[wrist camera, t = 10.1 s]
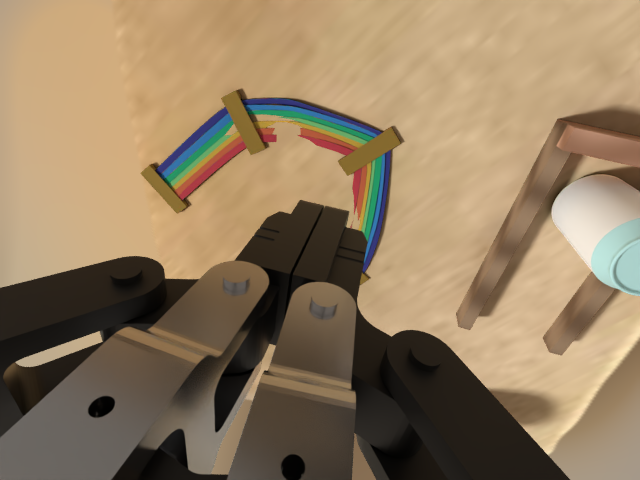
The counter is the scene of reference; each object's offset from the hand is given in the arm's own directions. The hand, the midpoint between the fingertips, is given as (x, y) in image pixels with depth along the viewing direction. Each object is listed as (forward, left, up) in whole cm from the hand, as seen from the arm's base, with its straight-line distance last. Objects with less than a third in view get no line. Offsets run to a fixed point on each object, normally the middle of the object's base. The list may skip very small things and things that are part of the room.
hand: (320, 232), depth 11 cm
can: (+6, +24, -30) cm, 39 cm away
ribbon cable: (+14, -7, -30) cm, 34 cm away
